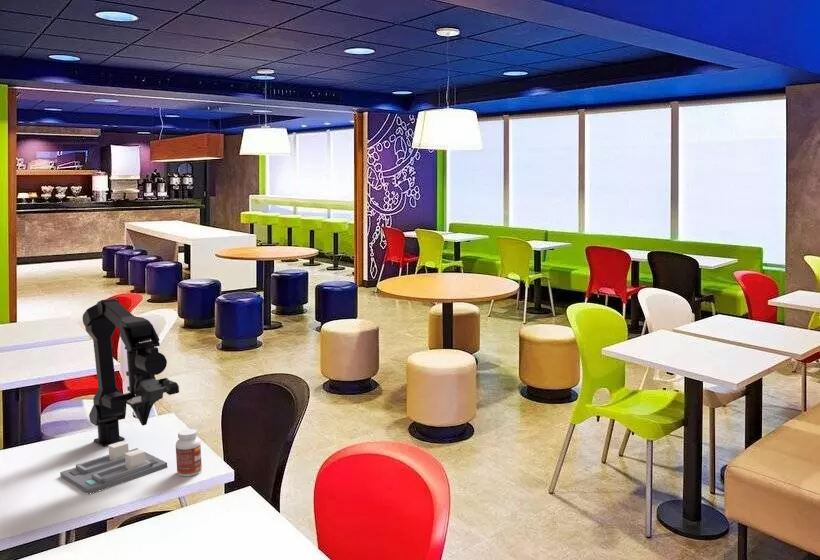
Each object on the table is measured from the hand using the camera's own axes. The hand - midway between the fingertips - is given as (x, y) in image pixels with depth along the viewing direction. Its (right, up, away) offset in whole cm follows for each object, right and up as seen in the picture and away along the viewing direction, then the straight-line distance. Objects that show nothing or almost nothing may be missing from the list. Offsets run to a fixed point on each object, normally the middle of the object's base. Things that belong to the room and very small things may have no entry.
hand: (143, 425), depth 184 cm
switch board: (-7, -12, -2) cm, 14 cm away
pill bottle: (+13, -12, -3) cm, 18 cm away
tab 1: (-8, -10, +3) cm, 13 cm away
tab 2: (-1, -11, -3) cm, 11 cm away
